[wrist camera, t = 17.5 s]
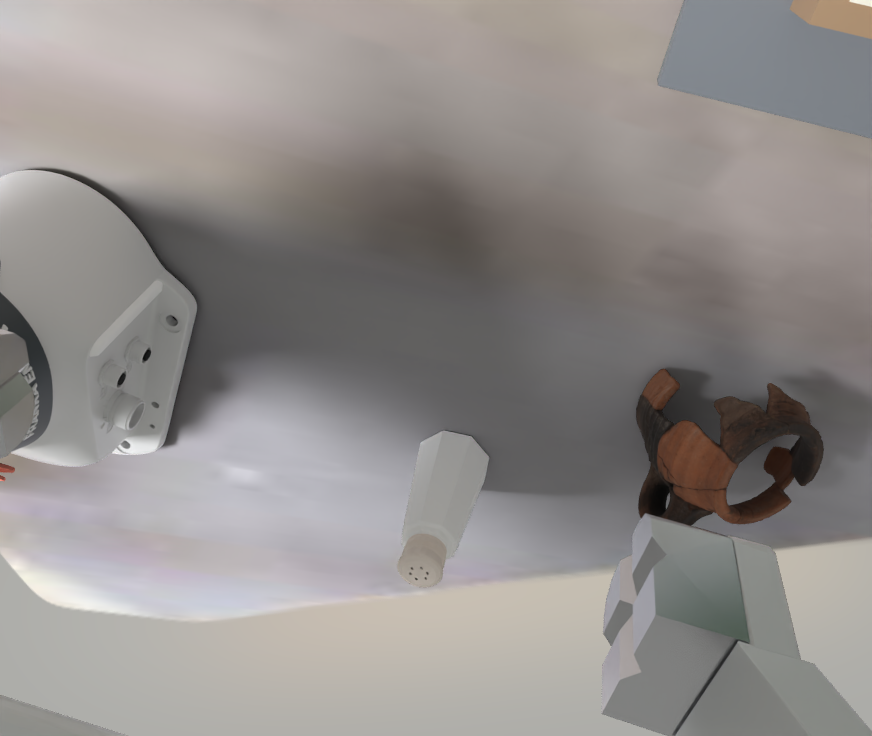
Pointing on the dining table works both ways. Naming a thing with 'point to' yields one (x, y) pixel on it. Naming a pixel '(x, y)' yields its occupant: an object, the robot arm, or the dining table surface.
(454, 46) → the dining table surface
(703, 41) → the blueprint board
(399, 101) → the dining table surface
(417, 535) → the pepper shaker
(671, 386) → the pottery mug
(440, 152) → the dining table surface
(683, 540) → the robot arm
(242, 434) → the dining table surface
